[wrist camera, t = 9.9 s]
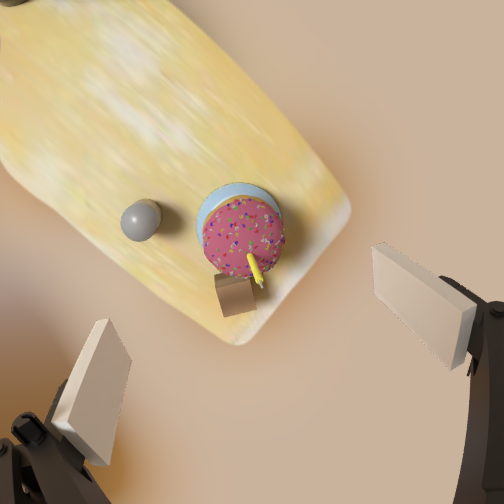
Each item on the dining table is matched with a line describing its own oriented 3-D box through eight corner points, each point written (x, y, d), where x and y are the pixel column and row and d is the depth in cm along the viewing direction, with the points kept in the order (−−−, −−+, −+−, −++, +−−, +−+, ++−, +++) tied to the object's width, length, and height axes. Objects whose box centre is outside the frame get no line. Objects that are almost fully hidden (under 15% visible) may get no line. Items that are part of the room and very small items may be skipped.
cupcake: (284, 246, 37) (317, 291, 26) (217, 272, 37) (224, 326, 26) (261, 179, 34) (289, 195, 23) (190, 206, 34) (182, 235, 23)
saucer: (187, 194, 35) (186, 196, 33) (270, 174, 35) (273, 174, 34) (209, 272, 38) (209, 276, 37) (286, 252, 39) (289, 255, 37)
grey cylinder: (125, 204, 34) (116, 210, 30) (156, 194, 34) (150, 200, 30) (135, 235, 35) (127, 245, 31) (165, 226, 35) (161, 236, 32)
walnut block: (214, 274, 38) (215, 288, 35) (245, 266, 39) (249, 279, 35) (222, 301, 40) (224, 317, 36) (251, 294, 40) (256, 309, 36)
